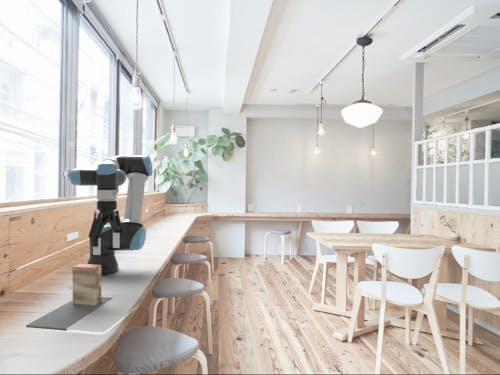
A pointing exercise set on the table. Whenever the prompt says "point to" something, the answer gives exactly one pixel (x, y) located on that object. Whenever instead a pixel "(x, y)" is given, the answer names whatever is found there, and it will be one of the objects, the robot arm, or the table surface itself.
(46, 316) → the mat
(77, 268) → the block
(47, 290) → the table surface
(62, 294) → the table surface
